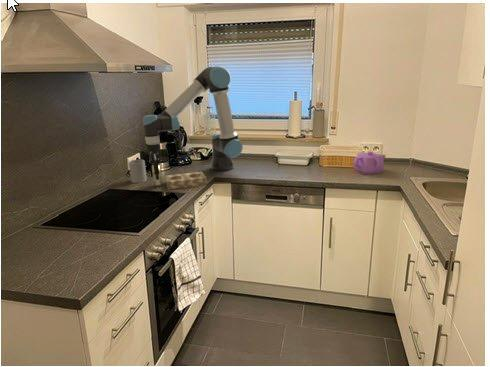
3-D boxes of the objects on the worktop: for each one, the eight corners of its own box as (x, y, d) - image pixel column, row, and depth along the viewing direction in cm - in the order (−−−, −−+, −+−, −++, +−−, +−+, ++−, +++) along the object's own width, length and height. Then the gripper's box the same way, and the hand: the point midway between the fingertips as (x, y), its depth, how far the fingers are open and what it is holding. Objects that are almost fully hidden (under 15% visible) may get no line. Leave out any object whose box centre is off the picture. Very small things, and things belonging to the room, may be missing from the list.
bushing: (161, 184, 204) (159, 164, 200) (162, 186, 200) (159, 166, 196) (153, 184, 202) (151, 165, 199) (154, 187, 198) (151, 166, 195)
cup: (141, 183, 206) (138, 163, 203) (128, 182, 209) (125, 163, 205) (149, 178, 215) (147, 159, 211) (136, 177, 217) (134, 159, 214)
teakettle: (352, 173, 211) (353, 154, 208) (356, 166, 226) (357, 148, 222) (382, 176, 204) (384, 156, 201) (384, 169, 219) (386, 149, 215)
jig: (202, 177, 213) (201, 171, 212) (206, 184, 200) (206, 177, 199) (165, 182, 207) (165, 175, 206) (168, 189, 194) (167, 182, 193)
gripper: (145, 141, 200) (150, 179, 208) (146, 147, 184) (152, 188, 192) (158, 140, 202) (163, 178, 210) (161, 145, 187) (165, 186, 194)
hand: (157, 183), depth 201 cm, fingers closed on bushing, 4 cm apart
